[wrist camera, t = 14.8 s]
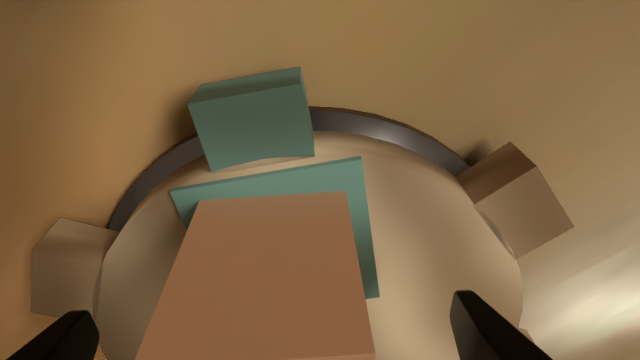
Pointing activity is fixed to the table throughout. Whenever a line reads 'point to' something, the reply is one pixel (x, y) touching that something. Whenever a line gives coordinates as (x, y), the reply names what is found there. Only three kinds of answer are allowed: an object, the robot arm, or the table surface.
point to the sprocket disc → (314, 177)
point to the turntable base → (320, 121)
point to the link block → (264, 284)
